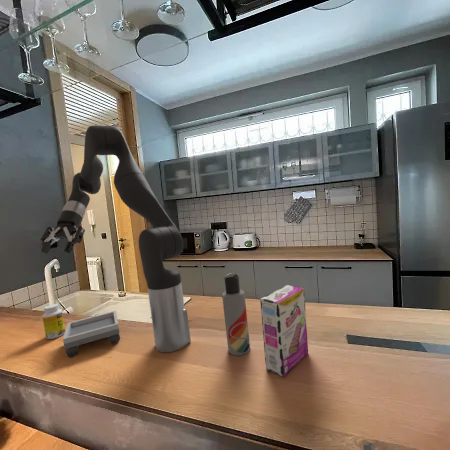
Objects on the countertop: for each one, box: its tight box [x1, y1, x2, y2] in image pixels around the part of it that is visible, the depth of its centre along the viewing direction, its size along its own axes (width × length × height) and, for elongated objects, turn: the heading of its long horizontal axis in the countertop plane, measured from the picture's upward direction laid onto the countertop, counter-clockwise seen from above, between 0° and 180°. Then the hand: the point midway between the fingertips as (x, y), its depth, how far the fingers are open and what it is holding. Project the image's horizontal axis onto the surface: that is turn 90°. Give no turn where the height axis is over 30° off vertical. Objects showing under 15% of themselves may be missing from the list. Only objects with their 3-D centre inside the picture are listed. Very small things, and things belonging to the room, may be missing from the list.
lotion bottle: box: [221, 272, 251, 356], centre depth 66 cm, size 6×6×20 cm
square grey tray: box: [62, 310, 121, 358], centre depth 79 cm, size 14×12×6 cm
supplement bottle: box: [41, 303, 66, 340], centre depth 86 cm, size 6×6×10 cm
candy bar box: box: [259, 284, 309, 378], centre depth 59 cm, size 11×5×16 cm, turn 135°
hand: (55, 252), depth 91 cm, fingers open, 8 cm apart
